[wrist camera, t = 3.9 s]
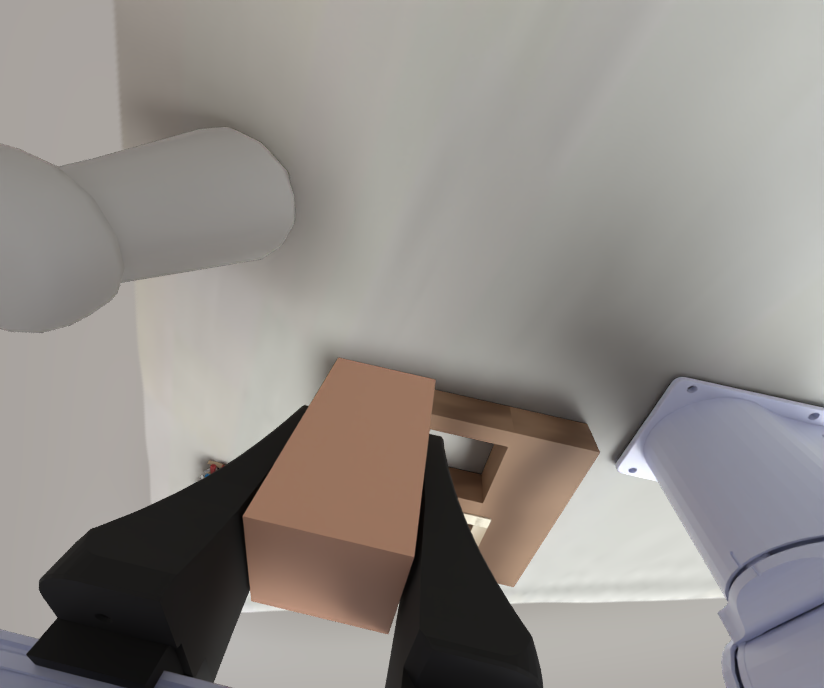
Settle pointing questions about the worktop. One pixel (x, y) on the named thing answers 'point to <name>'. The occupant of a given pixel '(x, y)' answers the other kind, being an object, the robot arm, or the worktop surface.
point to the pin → (344, 500)
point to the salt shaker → (132, 220)
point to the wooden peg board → (514, 476)
